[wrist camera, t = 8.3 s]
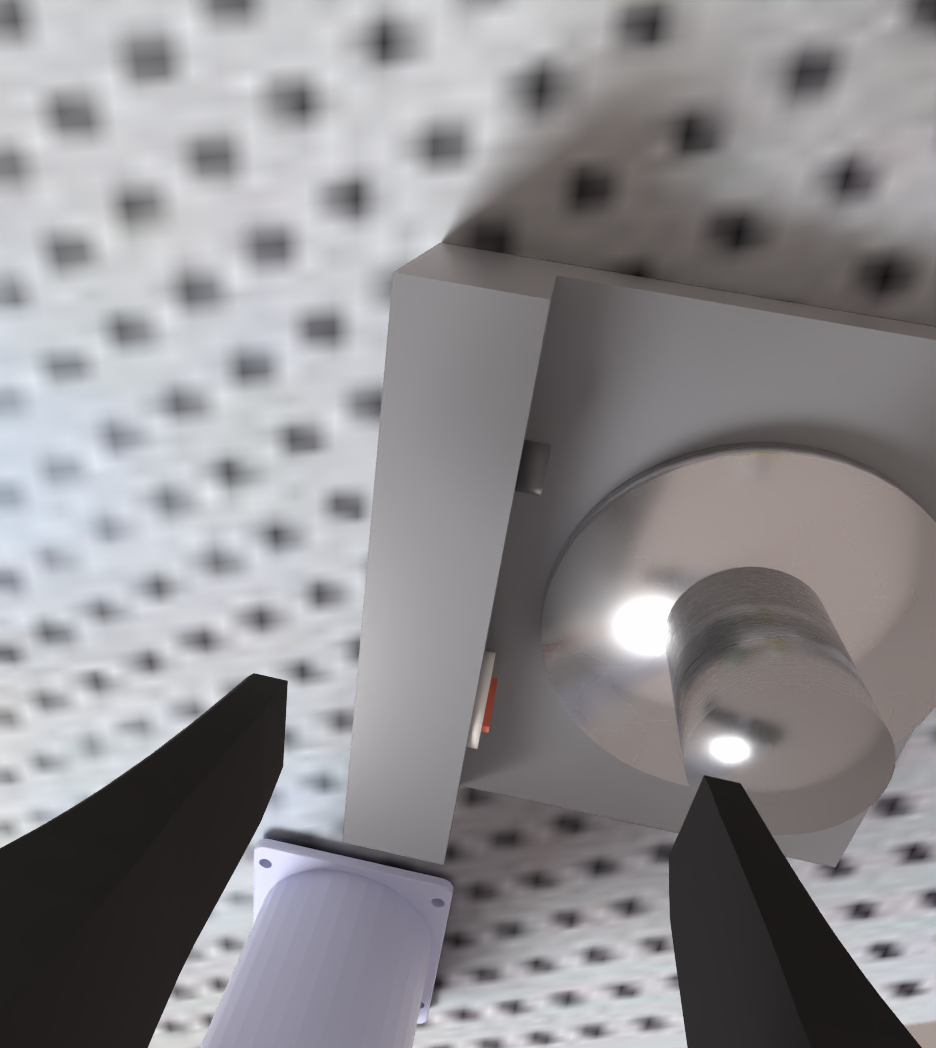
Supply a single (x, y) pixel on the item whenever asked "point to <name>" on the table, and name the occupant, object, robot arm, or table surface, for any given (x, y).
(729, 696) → the cylinder
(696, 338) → the scale
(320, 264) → the table surface
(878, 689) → the pan
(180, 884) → the robot arm
